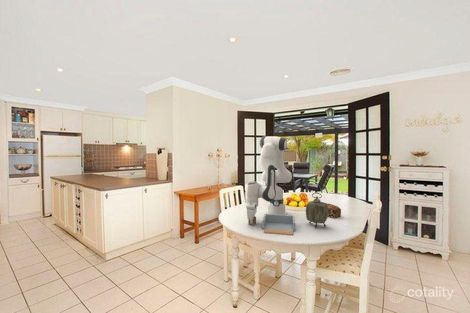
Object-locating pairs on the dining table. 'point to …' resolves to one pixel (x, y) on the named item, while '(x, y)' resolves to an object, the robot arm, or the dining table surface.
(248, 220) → the walnut block
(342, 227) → the dining table surface
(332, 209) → the bread
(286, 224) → the blue-grey open tray
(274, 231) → the panel
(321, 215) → the tabletop clock
